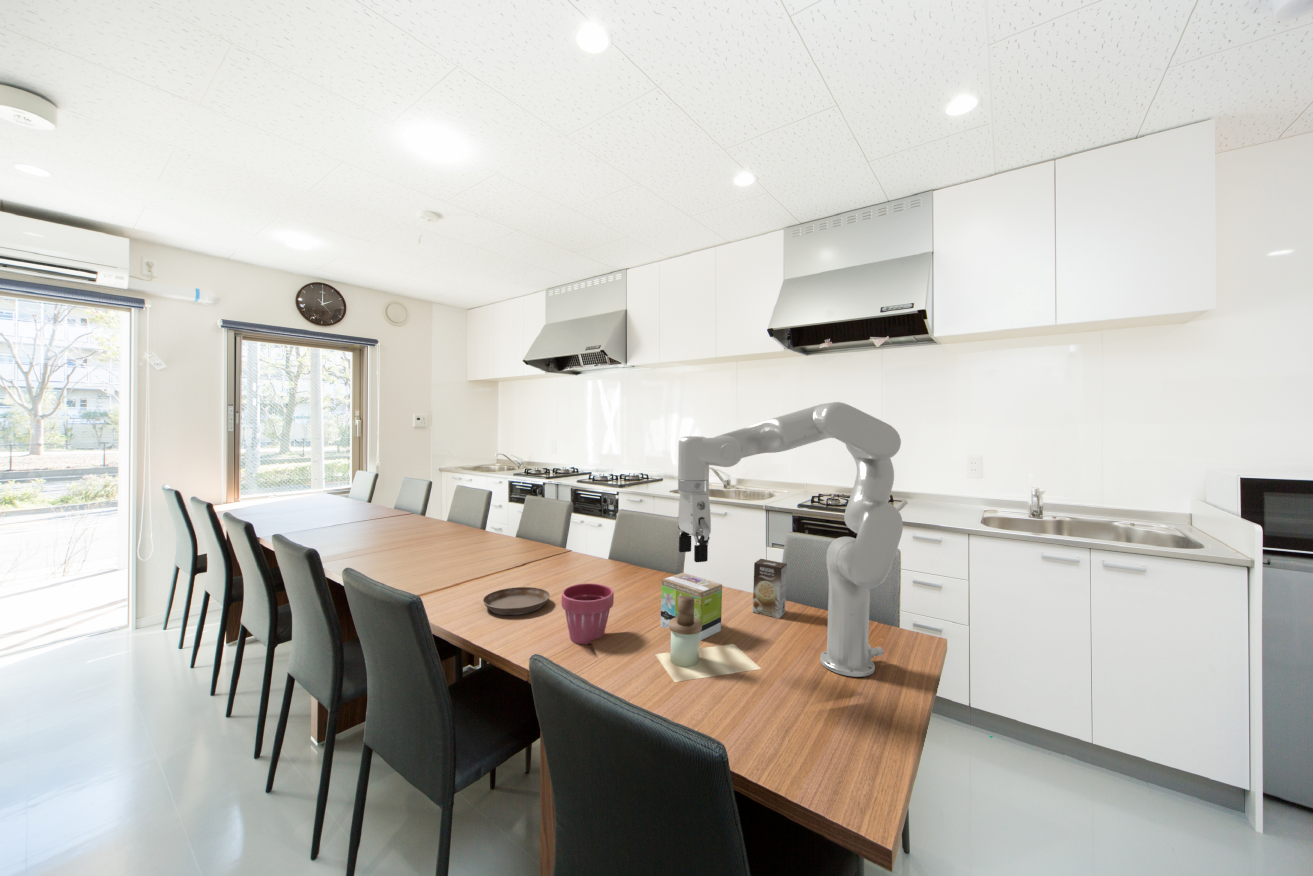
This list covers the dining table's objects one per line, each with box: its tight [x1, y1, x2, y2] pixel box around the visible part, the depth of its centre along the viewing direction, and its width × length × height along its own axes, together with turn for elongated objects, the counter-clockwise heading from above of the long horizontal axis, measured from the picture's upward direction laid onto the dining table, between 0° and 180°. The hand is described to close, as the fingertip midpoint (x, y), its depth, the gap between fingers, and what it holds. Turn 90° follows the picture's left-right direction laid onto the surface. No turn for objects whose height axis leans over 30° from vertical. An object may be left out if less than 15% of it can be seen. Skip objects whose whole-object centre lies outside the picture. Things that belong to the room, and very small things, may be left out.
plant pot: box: [561, 582, 615, 645], centre depth 132 cm, size 14×14×13 cm
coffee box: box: [752, 558, 788, 619], centre depth 154 cm, size 9×6×16 cm
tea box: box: [660, 572, 723, 641], centre depth 138 cm, size 15×10×15 cm, turn 47°
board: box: [654, 643, 762, 683], centre depth 118 cm, size 22×14×1 cm, turn 109°
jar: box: [670, 630, 701, 667], centre depth 118 cm, size 7×7×8 cm
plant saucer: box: [482, 586, 551, 616], centre depth 155 cm, size 21×21×3 cm
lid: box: [668, 596, 702, 635], centre depth 118 cm, size 8×8×7 cm
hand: (692, 556), depth 118 cm, fingers open, 9 cm apart
